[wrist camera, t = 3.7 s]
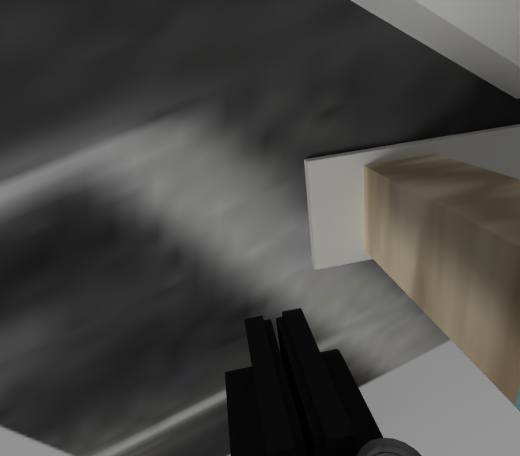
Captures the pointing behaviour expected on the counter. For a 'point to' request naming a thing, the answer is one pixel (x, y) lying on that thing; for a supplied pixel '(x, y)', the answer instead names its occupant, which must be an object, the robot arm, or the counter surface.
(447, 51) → the bracket
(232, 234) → the counter surface
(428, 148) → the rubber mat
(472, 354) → the maple block
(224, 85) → the counter surface
